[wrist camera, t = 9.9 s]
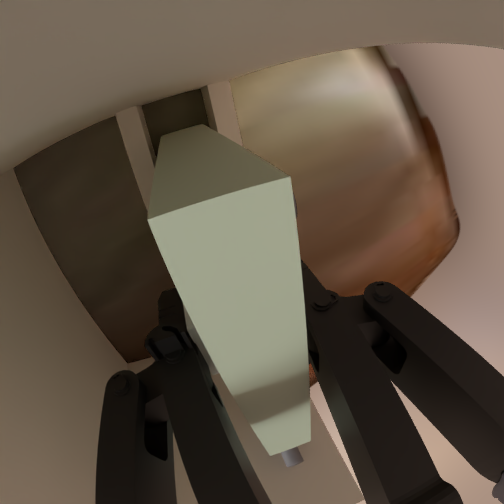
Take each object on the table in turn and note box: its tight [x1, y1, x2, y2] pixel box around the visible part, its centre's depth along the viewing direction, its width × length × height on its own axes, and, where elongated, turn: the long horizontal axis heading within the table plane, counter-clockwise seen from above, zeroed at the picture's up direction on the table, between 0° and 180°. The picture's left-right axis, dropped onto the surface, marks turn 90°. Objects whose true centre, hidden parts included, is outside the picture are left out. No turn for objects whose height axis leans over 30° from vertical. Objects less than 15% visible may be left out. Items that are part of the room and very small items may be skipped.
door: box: [147, 124, 311, 456], centre depth 11 cm, size 12×3×10 cm, turn 11°
